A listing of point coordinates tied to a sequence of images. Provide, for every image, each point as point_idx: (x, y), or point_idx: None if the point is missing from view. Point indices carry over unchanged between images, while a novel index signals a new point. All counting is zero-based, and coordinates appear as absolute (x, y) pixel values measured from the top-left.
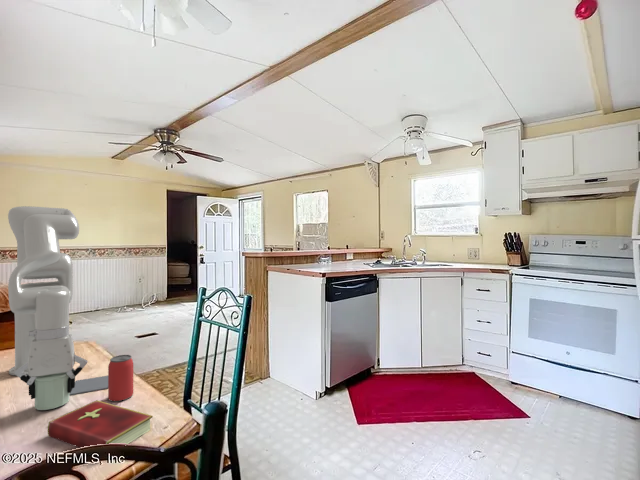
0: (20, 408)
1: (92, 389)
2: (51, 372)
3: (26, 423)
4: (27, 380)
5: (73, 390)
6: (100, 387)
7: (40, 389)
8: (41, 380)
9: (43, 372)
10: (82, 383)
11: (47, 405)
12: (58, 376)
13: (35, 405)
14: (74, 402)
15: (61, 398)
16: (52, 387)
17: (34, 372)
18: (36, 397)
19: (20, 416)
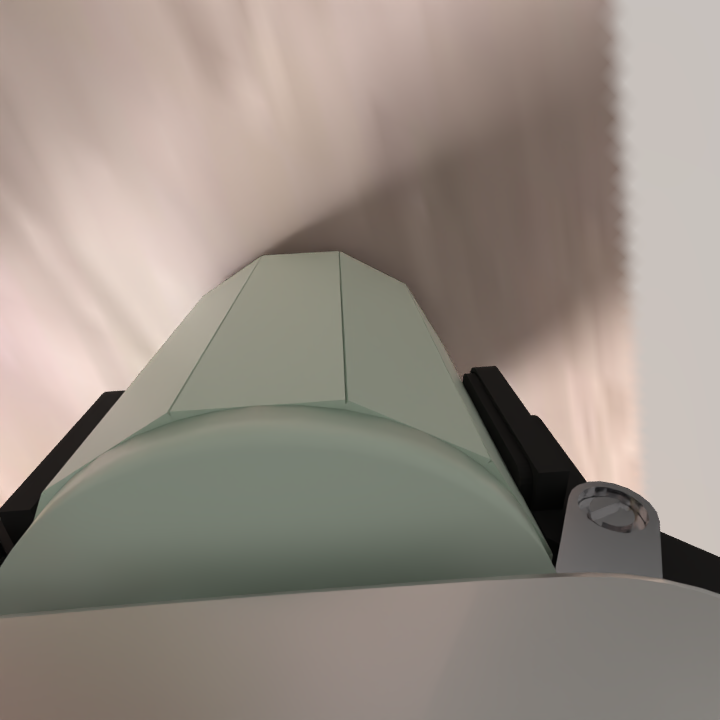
0: (544, 408)
1: None
2: (198, 647)
3: (442, 34)
4: (668, 568)
5: None
6: None
7: (410, 365)
8: (422, 452)
9: (424, 672)
10: None
11: (314, 263)
12: (74, 518)
13: (435, 334)
14: (139, 358)
15: (187, 316)
16: (227, 344)
17: (708, 703)
18: (443, 353)
19: (522, 248)
